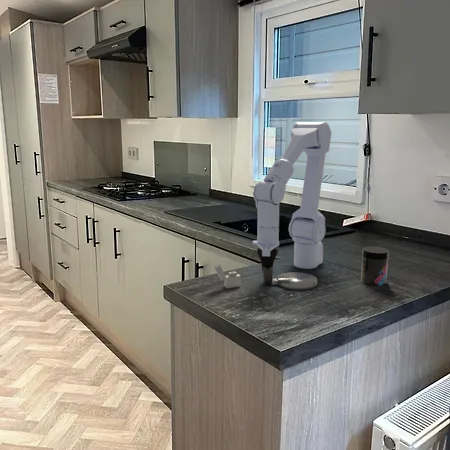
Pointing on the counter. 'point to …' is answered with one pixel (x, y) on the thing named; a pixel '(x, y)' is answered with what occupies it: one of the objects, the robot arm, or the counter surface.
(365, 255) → the supplement container
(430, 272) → the counter surface
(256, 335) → the counter surface
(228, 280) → the lighter
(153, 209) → the counter surface
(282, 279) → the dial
